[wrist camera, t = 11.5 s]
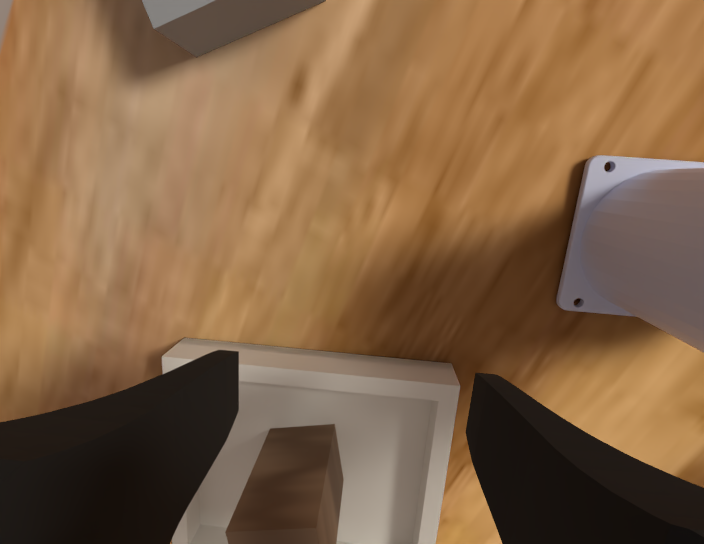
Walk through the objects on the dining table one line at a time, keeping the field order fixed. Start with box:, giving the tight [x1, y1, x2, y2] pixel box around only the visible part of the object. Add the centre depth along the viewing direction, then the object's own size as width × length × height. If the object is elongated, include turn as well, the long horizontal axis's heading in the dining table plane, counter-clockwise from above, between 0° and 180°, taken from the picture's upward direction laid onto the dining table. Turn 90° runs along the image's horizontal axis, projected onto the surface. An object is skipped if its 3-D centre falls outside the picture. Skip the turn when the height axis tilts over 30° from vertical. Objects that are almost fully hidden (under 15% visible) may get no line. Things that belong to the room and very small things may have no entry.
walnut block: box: [225, 424, 344, 544], centre depth 20 cm, size 4×4×7 cm
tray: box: [162, 338, 460, 544], centre depth 23 cm, size 16×14×2 cm
